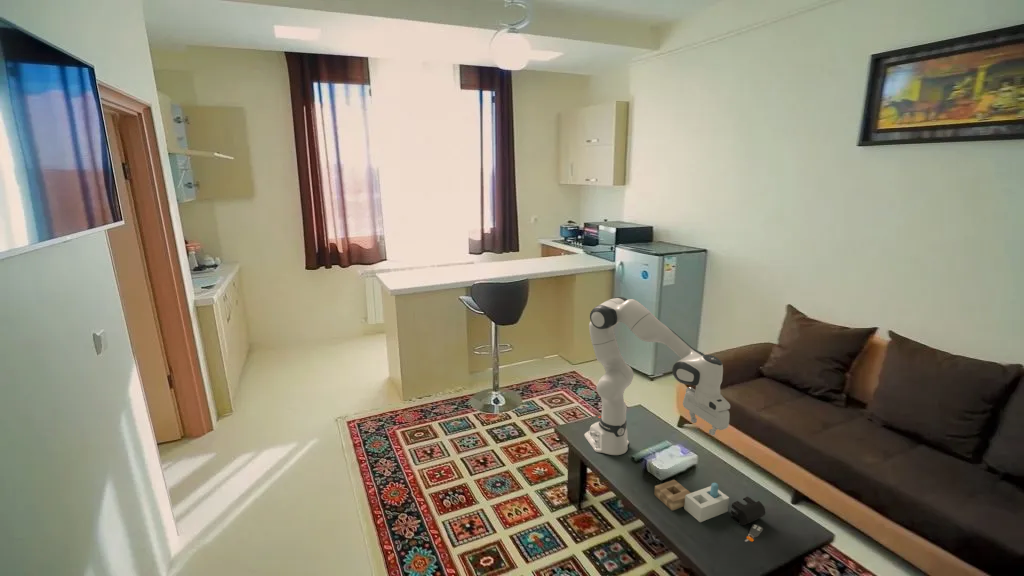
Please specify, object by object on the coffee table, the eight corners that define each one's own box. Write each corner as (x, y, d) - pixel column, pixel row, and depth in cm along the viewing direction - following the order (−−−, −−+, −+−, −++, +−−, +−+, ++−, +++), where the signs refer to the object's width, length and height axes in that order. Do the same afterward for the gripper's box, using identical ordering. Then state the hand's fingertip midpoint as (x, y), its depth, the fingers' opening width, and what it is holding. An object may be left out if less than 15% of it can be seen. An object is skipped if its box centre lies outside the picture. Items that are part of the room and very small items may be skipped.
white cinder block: (684, 508, 177) (685, 495, 176) (711, 498, 183) (712, 485, 181) (700, 522, 170) (701, 508, 169) (727, 511, 176) (729, 497, 174)
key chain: (752, 525, 169) (752, 521, 169) (763, 530, 167) (763, 527, 166) (739, 544, 160) (739, 541, 160) (750, 550, 158) (751, 547, 157)
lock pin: (707, 506, 178) (710, 483, 176) (712, 504, 179) (714, 481, 177) (712, 510, 176) (715, 487, 174) (717, 508, 177) (720, 485, 175)
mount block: (654, 494, 185) (654, 486, 184) (673, 488, 189) (674, 479, 188) (672, 510, 176) (672, 501, 175) (691, 503, 180) (692, 494, 179)
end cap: (745, 530, 166) (748, 514, 165) (729, 517, 172) (731, 502, 171) (764, 521, 170) (766, 505, 169) (747, 509, 177) (749, 494, 175)
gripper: (681, 386, 187) (677, 416, 190) (721, 410, 169) (716, 443, 172) (693, 383, 190) (689, 413, 193) (734, 406, 171) (729, 439, 175)
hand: (702, 428), depth 183 cm, fingers open, 8 cm apart
